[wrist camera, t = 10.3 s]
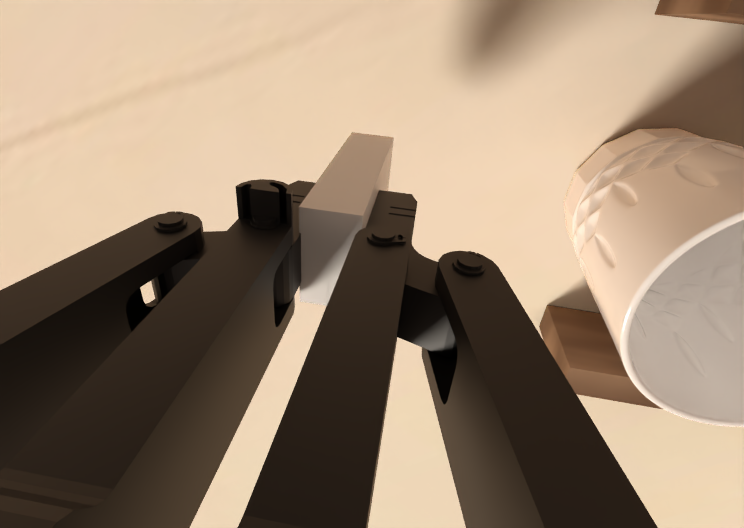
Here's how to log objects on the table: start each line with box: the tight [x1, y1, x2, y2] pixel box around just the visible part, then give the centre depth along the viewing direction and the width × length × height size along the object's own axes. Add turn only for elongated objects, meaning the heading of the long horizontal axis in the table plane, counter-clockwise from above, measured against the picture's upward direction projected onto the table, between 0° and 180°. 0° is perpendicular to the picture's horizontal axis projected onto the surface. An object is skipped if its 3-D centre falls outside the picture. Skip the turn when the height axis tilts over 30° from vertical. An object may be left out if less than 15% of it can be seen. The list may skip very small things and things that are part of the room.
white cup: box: [564, 128, 744, 427], centre depth 16 cm, size 8×8×10 cm
